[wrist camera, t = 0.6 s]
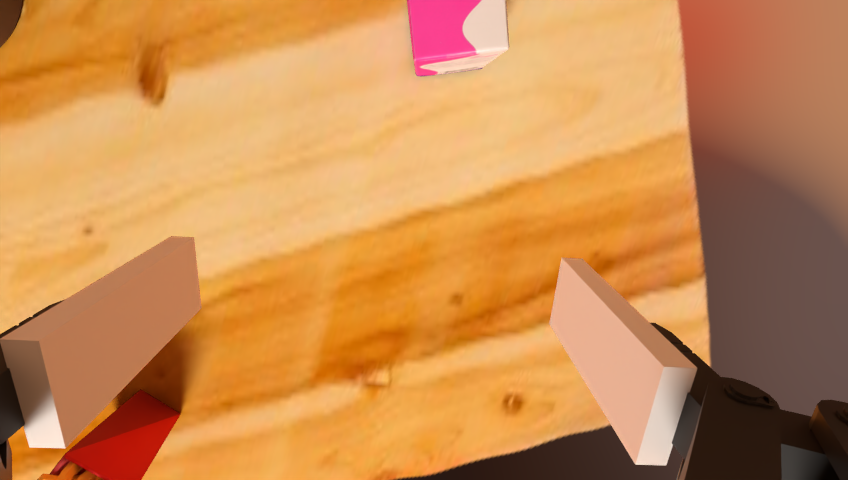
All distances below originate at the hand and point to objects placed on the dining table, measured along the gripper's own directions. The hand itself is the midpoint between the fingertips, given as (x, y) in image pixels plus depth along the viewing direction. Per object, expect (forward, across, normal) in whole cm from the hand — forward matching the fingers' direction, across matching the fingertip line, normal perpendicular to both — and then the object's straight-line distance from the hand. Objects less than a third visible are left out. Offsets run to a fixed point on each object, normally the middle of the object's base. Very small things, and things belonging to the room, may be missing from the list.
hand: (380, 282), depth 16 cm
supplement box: (+25, +3, +11) cm, 27 cm away
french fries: (+24, -24, -28) cm, 44 cm away
